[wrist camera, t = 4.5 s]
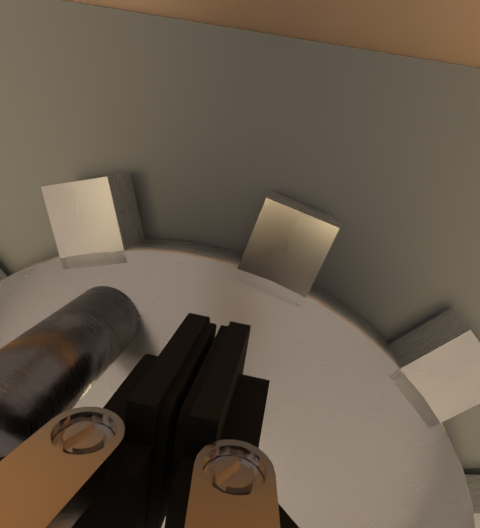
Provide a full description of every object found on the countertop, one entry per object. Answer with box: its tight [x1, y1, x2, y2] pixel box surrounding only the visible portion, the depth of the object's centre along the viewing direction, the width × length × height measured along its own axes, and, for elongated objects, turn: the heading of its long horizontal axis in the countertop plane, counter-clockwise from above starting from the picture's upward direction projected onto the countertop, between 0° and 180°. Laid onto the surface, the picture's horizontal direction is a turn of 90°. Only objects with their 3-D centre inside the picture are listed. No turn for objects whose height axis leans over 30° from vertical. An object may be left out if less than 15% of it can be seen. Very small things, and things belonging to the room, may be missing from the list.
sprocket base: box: [0, 0, 480, 475], centre depth 16 cm, size 32×26×3 cm
